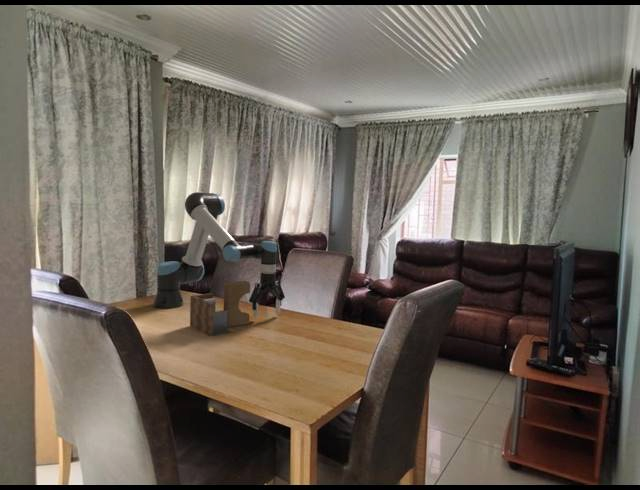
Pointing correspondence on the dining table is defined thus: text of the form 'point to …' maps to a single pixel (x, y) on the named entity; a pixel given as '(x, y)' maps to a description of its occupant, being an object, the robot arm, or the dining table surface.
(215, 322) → the bookend
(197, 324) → the wooden grain block
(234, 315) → the decorative block
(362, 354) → the dining table surface
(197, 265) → the robot arm
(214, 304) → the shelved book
